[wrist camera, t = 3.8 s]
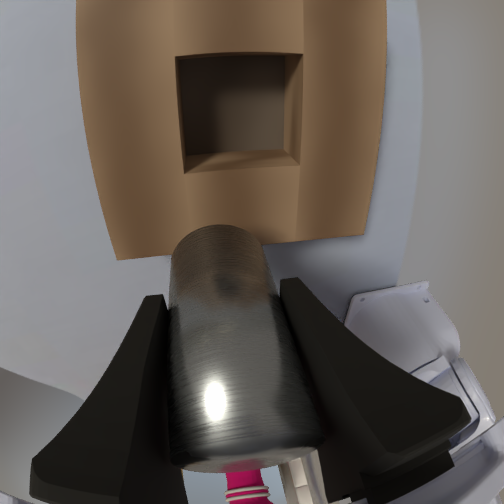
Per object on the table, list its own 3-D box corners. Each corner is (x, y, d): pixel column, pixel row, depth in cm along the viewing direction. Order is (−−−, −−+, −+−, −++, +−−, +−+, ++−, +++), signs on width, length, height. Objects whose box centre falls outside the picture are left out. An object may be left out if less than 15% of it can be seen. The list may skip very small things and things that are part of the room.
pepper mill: (199, 395, 32) (220, 552, 16) (258, 387, 32) (295, 542, 16) (208, 416, 36) (228, 547, 20) (259, 410, 37) (289, 538, 21)
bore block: (349, 2, 11) (385, -9, 8) (337, 204, 20) (363, 234, 16) (102, 7, 10) (76, -7, 6) (130, 223, 18) (117, 260, 15)
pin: (266, 220, 11) (344, 418, 5) (262, 294, 14) (309, 458, 8) (164, 229, 11) (151, 445, 5) (178, 302, 13) (186, 475, 7)
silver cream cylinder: (313, 398, 37) (361, 551, 17) (303, 415, 41) (343, 549, 21) (269, 405, 36) (309, 567, 16) (264, 422, 40) (298, 562, 20)
